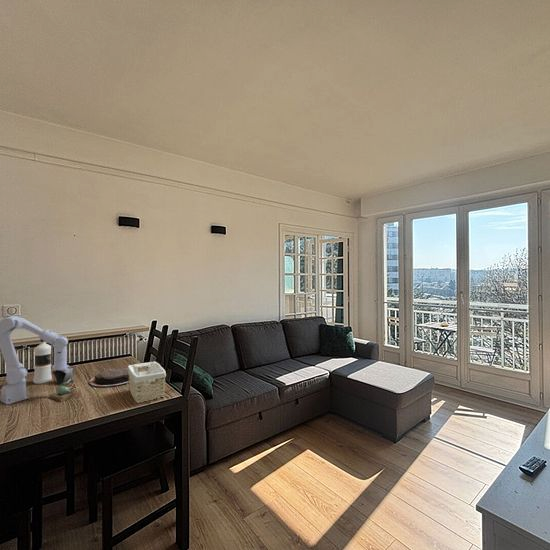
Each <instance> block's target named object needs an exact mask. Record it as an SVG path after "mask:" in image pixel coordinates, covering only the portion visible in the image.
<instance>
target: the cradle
mask: <svg viewBox="0 0 550 550" xmlns="http://www.w3.org/2000/svg"><path fill="white" fill-rule="evenodd" d="M70 391H71V392H72V393H69V394H66V395H63V396H62V395H60V394H57V393H50V394H49V398H51V399H54V400H56V401H59V402H60V403H62V402H65V401H69V400H72V399H75V398H78V397H81V396H82V391H81V390H74V389H71V388H70Z"/></svg>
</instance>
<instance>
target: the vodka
mask: <svg viewBox="0 0 550 550" xmlns="http://www.w3.org/2000/svg"><path fill="white" fill-rule="evenodd" d="M33 351H34V367H33V368H34V373H33V374H34V375H33V379H32V382H33V384H35V385H41V384H42V383H43V384H46V383H50V382H51V381H52V379H53V375H52V346H51V344H49V343H47V342H46V341H44V340H42V339H40V343H39V344H38V345H37V346H35V347H34V350H33Z"/></svg>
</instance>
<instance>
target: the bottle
mask: <svg viewBox="0 0 550 550" xmlns="http://www.w3.org/2000/svg"><path fill="white" fill-rule="evenodd" d="M70 389H71V388H70V387H67V386H65V385H59V386H58V387H56V389H55V390H56V393H55V394H57V395H60V396H63V395H66V394H69V393H72V392H71V391H70Z"/></svg>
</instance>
